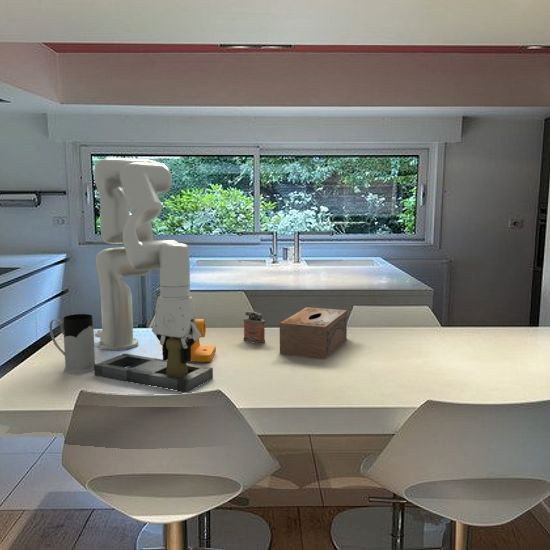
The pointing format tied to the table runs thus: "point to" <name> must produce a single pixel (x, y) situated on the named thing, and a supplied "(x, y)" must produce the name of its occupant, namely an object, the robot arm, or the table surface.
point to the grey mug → (77, 343)
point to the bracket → (202, 351)
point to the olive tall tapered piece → (175, 358)
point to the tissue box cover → (313, 332)
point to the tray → (151, 372)
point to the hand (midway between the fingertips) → (176, 359)
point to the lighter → (254, 328)
